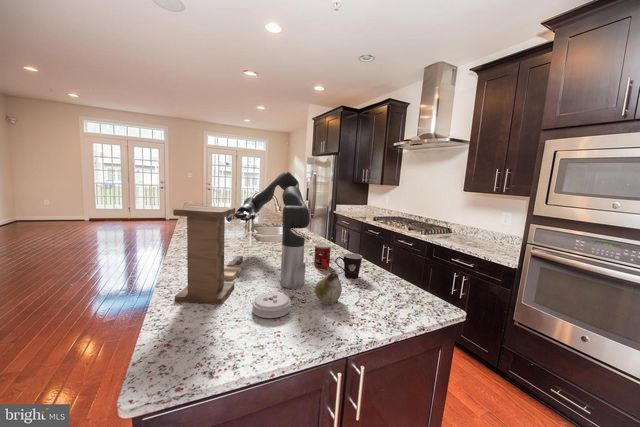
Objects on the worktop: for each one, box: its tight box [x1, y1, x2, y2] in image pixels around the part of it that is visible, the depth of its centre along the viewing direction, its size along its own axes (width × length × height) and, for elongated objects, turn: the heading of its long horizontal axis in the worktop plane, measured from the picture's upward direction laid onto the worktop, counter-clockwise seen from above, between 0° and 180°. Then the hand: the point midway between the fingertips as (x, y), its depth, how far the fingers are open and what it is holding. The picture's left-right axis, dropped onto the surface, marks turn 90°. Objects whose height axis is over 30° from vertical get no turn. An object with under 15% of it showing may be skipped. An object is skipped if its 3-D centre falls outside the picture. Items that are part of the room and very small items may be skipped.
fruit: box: [314, 272, 343, 305], centre depth 99 cm, size 10×9×12 cm
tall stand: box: [172, 205, 236, 305], centre depth 98 cm, size 14×16×32 cm
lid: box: [251, 291, 292, 319], centre depth 90 cm, size 13×13×5 cm
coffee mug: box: [334, 252, 363, 280], centre depth 127 cm, size 12×9×10 cm
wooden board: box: [224, 255, 244, 281], centre depth 127 cm, size 26×10×2 cm, turn 0°
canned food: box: [313, 243, 332, 269], centre depth 139 cm, size 8×8×11 cm
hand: (237, 219), depth 132 cm, fingers open, 8 cm apart
